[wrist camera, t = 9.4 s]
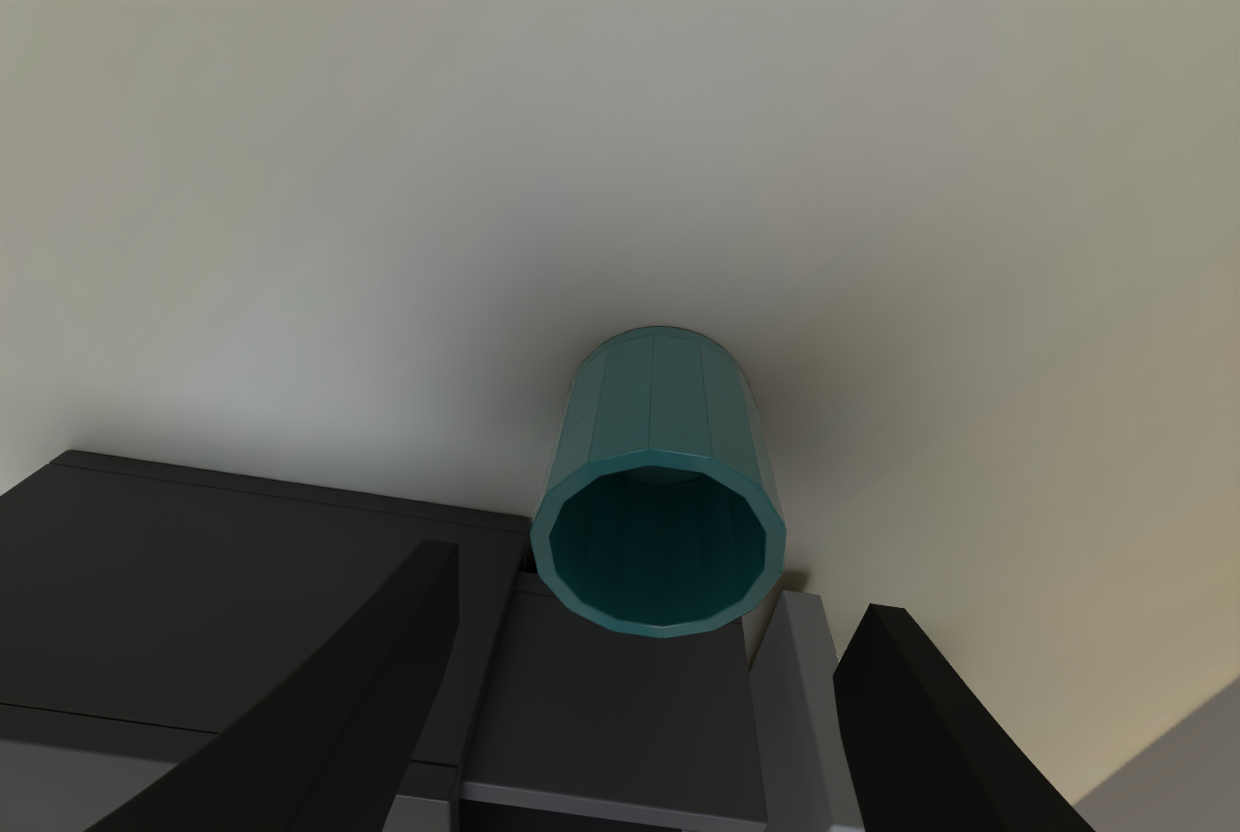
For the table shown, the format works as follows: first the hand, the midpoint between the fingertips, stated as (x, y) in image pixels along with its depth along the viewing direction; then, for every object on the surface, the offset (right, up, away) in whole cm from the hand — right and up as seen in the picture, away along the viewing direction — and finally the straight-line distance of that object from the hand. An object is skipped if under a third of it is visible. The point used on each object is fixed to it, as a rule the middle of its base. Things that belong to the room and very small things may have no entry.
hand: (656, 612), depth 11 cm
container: (0, +4, +6) cm, 7 cm away
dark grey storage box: (-11, -4, +12) cm, 17 cm away
